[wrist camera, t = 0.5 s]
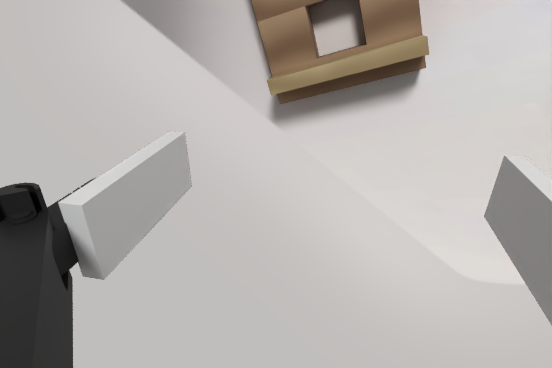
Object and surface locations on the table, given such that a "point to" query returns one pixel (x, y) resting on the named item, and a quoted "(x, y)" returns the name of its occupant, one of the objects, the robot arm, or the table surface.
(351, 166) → the table surface
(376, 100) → the table surface
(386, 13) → the wooden board
